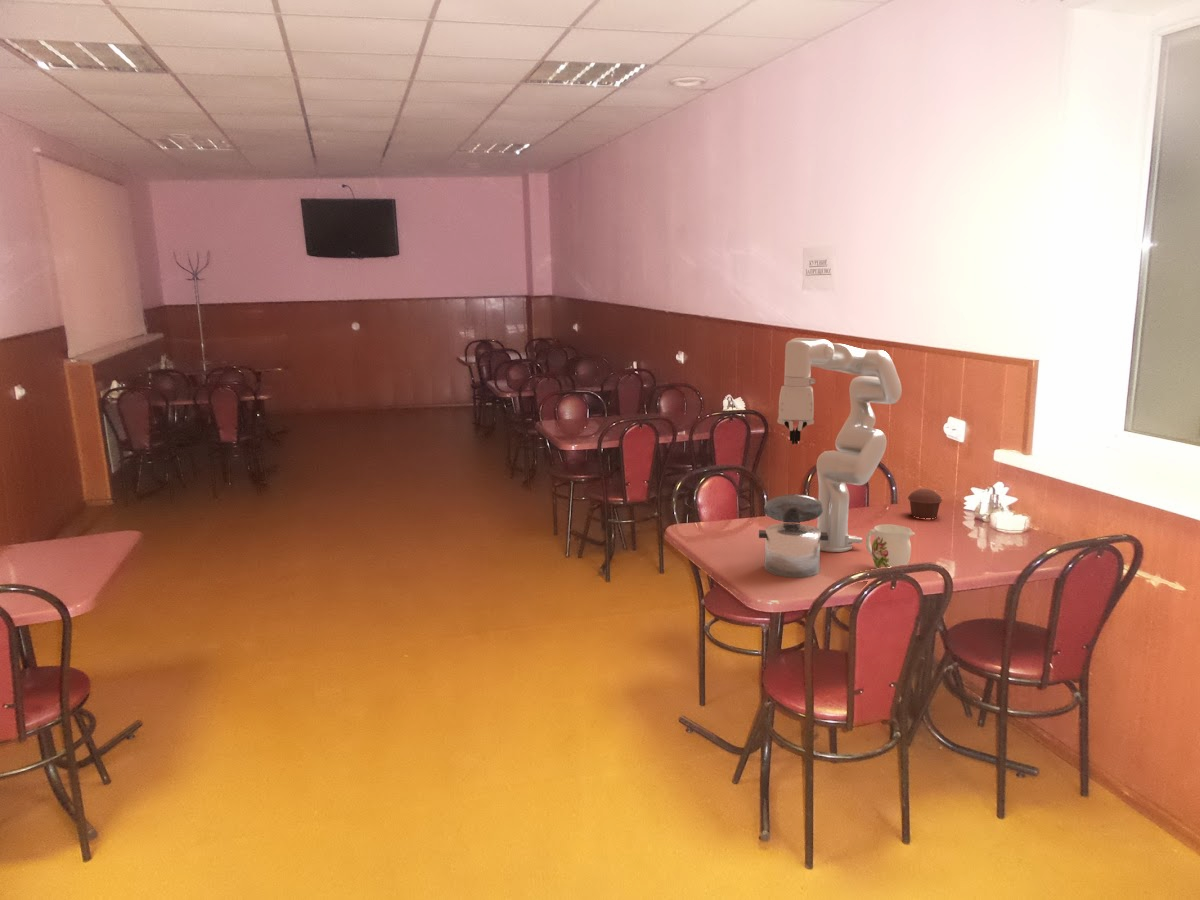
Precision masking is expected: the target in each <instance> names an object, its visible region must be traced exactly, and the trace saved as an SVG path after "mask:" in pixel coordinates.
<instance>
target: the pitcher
mask: <svg viewBox="0 0 1200 900" xmlns="http://www.w3.org/2000/svg"><path fill="white" fill-rule="evenodd" d="M915 534H916V533H915V532H914V531H912V529H911V528H910V527H907V526H903V525H898V524H887V523H886V524H879V525H875V526H874V528H873V529H870V530H868V532H867V533H866V536H865V547H866V550H867V552H868V553H869V555H870V556H871V557H872V561H873V565H874V566H875V569H877V568H881V567H890V566H899V565H907V564H908V565H909V563H910V560H911V556H912V555H911V553H912V545H911V541H910V537H912V536H914V535H915ZM872 535H874V538H873V541H872V544H871V538H872ZM908 565H907V566H908Z"/></svg>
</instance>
